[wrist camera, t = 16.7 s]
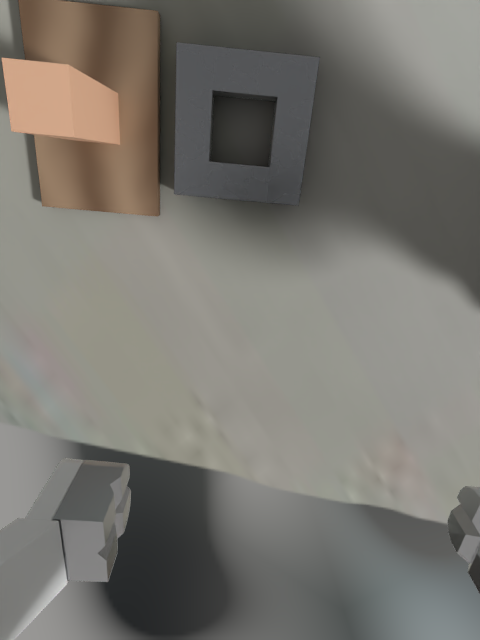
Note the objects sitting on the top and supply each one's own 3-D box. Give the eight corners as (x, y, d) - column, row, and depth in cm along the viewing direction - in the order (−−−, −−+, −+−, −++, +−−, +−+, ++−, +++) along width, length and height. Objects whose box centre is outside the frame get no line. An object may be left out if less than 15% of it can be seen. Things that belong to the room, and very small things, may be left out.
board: (160, 15, 30) (157, 10, 30) (159, 214, 37) (157, 216, 36) (24, 1, 30) (17, -5, 29) (47, 205, 36) (42, 206, 35)
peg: (118, 93, 32) (68, 64, 23) (120, 144, 33) (73, 137, 24) (71, 88, 32) (1, 57, 22) (75, 140, 33) (11, 131, 24)
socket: (314, 64, 32) (319, 57, 29) (294, 202, 36) (298, 205, 34) (181, 51, 31) (176, 42, 29) (178, 192, 36) (174, 194, 34)
